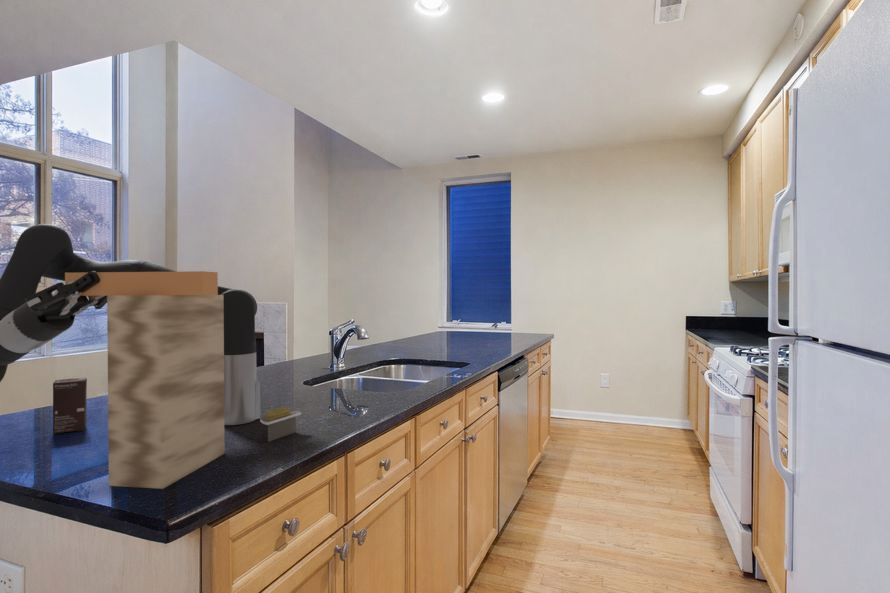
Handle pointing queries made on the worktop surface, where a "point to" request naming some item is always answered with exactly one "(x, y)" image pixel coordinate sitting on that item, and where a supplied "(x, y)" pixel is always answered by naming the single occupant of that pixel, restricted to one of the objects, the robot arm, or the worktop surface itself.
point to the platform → (280, 422)
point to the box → (69, 405)
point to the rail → (151, 283)
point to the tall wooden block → (164, 387)
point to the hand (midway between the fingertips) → (107, 276)
